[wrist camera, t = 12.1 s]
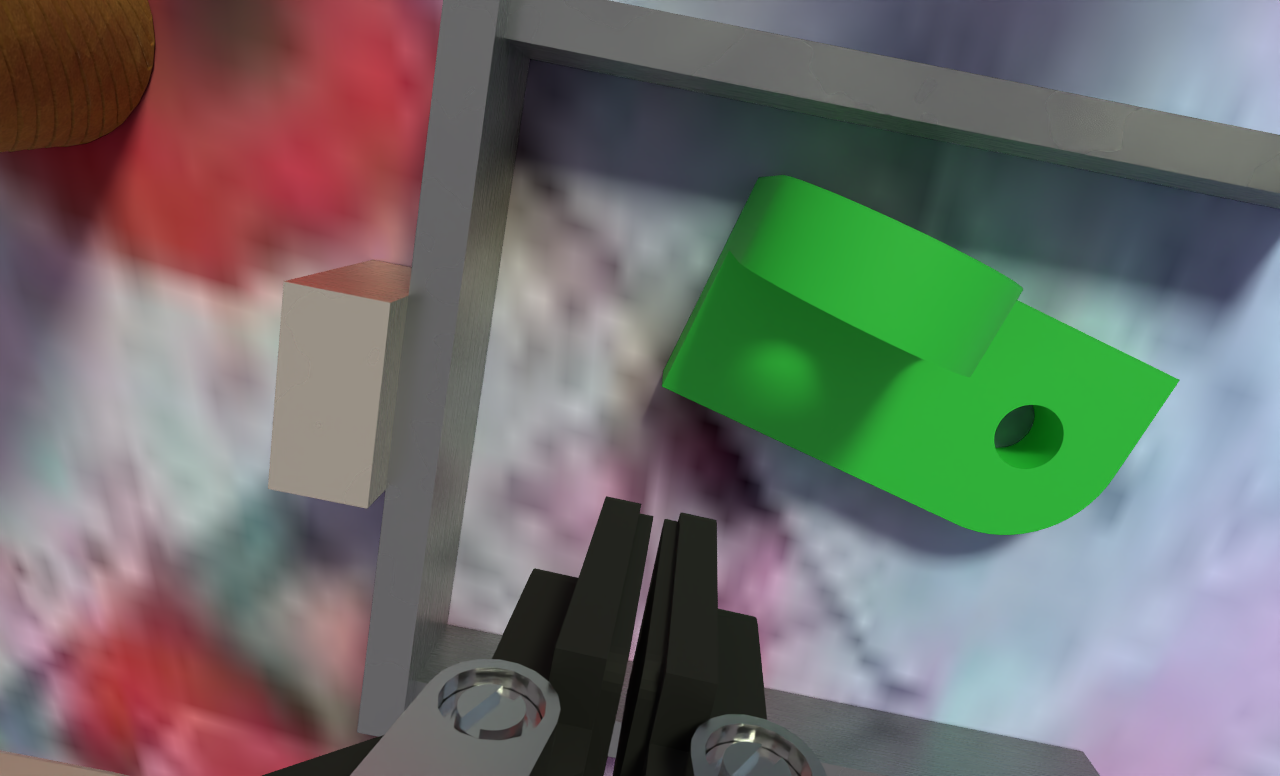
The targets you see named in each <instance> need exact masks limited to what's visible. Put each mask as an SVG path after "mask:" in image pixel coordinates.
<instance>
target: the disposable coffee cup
mask: <svg viewBox="0 0 1280 776" xmlns="http://www.w3.org/2000/svg"><path fill="white" fill-rule="evenodd" d="M154 45H155V39H154V29H153V19H152V14H151V10H150V7H149V3H148V0H0V152H6V151H9V152H13V151H19V150H25V149H27V150H31V149H38V148H44V147H45V148H50V147H58V146H73V145H79V144H84V143H89V142H91V141H93V140H95V139H97V138H99V137H102V136H104V135H106V134H108V133H110V132H111V131H113V130H114V129H115V128H117V127H118V126H119V125H121V124H122V123H123V122H124V121H125V120H126V119H127V117H128V116H129V115H130V113H131V112H132V111H133V110H134V108H135V107H136V106H137V105H138V103H139V101H140V99H141V97H142V95H143V93H144V91H145V89H146V86H147V84H148V82H149V78H150V74H151V71H152V67H153V58H154Z"/></svg>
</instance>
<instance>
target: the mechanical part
mask: <svg viewBox="0 0 1280 776" xmlns="http://www.w3.org/2000/svg"><path fill="white" fill-rule="evenodd" d="M1022 291H1023V288H1022V287H1021V286H1020V285H1018V284H1017V283H1016V282H1014V281H1013V280H1011V279H1009V278H1008V277H1006V276H1005V275H1003V274H1001V273H999V272H998V271H996V270H994V269H992V268H991V267H989V266H987V265H985V264H983V263H981V262H979V261H978V260H976V259H974V258H972V257H970V256H968V255H966V254H964V253H962V252H960V251H958V250H956V249H954V248H952V247H950V246H948V245H947V244H945V243H943V242H941V241H938V240H936V239H934V238H932V237H930V236H928V235H926V234H924V233H922V232H920V231H918V230H916V229H914V228H911V227H909V226H907V225H905V224H903V223H901V222H899V221H897V220H894V219H892V218H890V217H888V216H886V215H883V214H881V213H879V212H877V211H875V210H872V209H870V208H868V207H866V206H863V205H861V204H859V203H856V202H854V201H852V200H850V199H847V198H845V197H843V196H840V195H838V194H835V193H833V192H831V191H828V190H826V189H823V188H821V187H818V186H816V185H813V184H810V183H808V182H805V181H802V180H799V179H796V178H793V177H790V176H786V175H777V176H767V177H759V178H758V180H757V182H756V184H755V186H754V188H753V190H752V192H751V194H750V196H749V198H748V200H747V202H746V204H745V206H744V208H743V210H742V212H741V214H740V216H739V218H738V220H737V222H736V224H735V226H734V228H733V230H732V232H731V234H730V236H729V238H728V241H727V243H726V245H725V247H724V249H723V251H722V253H721V255H720V257H719V259H718V261H717V263H716V265H715V267H714V269H713V271H712V273H711V275H710V277H709V279H708V281H707V283H706V285H705V287H704V289H703V291H702V293H701V295H700V297H699V299H698V301H697V304H696V306H695V308H694V310H693V312H692V314H691V316H690V318H689V320H688V322H687V324H686V326H685V328H684V330H683V332H682V334H681V336H680V338H679V340H678V342H677V344H676V346H675V348H674V350H673V352H672V354H671V356H670V358H669V360H668V362H667V364H666V367H665V369H664V371H663V379H662V387H664V388H666V389H668V390H671V391H673V392H675V393H677V394H679V395H681V396H683V397H686V398H688V399H690V400H692V401H694V402H696V403H698V404H700V405H703V406H705V407H707V408H709V409H711V410H713V411H715V412H718V413H720V414H722V415H724V416H726V417H728V418H730V419H733V420H735V421H737V422H739V423H741V424H743V425H745V426H747V427H750V428H752V429H754V430H756V431H758V432H760V433H762V434H765V435H767V436H769V437H771V438H773V439H775V440H777V441H780V442H782V443H784V444H786V445H788V446H790V447H792V448H795V449H797V450H799V451H801V452H803V453H805V454H807V455H809V456H812V457H814V458H816V459H818V460H820V461H822V462H824V463H827V464H829V465H831V466H833V467H835V468H837V469H839V470H842V471H844V472H846V473H848V474H850V475H852V476H854V477H856V478H859V479H861V480H863V481H865V482H867V483H869V484H871V485H874V486H876V487H878V488H880V489H882V490H884V491H886V492H889V493H891V494H893V495H895V496H897V497H899V498H901V499H903V500H906V501H908V502H910V503H912V504H914V505H916V506H918V507H921V508H923V509H925V510H927V511H929V512H931V513H933V514H936V515H938V516H940V517H942V518H944V519H946V520H948V521H951V522H953V523H955V524H957V525H959V526H962V527H964V528H967V529H970V530H974V531H977V532H982V533H987V534H997V535H1015V534H1024V533H1029V532H1034V531H1038V530H1042V529H1045V528H1048V527H1051V526H1053V525H1056V524H1058V523H1060V522H1062V521H1064V520H1066V519H1068V518H1070V517H1072V516H1073V515H1075V514H1077V513H1078V512H1080V511H1081V510H1082V509H1084V508H1085V507H1086V506H1088V505H1089V504H1090V503H1091V502H1092V501H1093V500H1095V499H1096V498H1097V497H1098V496H1099V495H1100V494H1101V493H1102V491H1103V490H1104V489H1105V488H1106V487H1107V486H1108V484H1109V483H1110V482H1111V480H1112V479H1113V478H1114V476H1115V475H1116V473H1117V472H1118V470H1119V469H1120V467H1121V466H1122V464H1123V463H1124V462H1125V460H1126V459H1127V457H1128V456H1129V454H1130V453H1131V451H1132V450H1133V448H1134V447H1135V445H1136V444H1137V442H1138V441H1139V439H1140V438H1141V436H1142V435H1143V434H1144V432H1145V431H1146V429H1147V428H1148V426H1149V425H1150V423H1151V422H1152V420H1153V419H1154V417H1155V416H1156V414H1157V413H1158V411H1159V410H1160V408H1161V407H1162V406H1163V404H1164V403H1165V401H1166V400H1167V398H1168V397H1169V395H1170V394H1171V392H1172V391H1173V389H1174V388H1175V386H1176V385H1177V383H1178V382H1179V379H1176V378H1174V377H1172V376H1170V375H1168V374H1166V373H1164V372H1162V371H1160V370H1158V369H1156V368H1154V367H1152V366H1150V365H1148V364H1146V363H1144V362H1142V361H1140V360H1138V359H1136V358H1134V357H1132V356H1130V355H1128V354H1126V353H1124V352H1122V351H1119V350H1117V349H1115V348H1113V347H1111V346H1109V345H1107V344H1105V343H1103V342H1101V341H1099V340H1097V339H1095V338H1093V337H1091V336H1089V335H1087V334H1085V333H1083V332H1081V331H1079V330H1077V329H1075V328H1073V327H1071V326H1069V325H1067V324H1064V323H1062V322H1060V321H1058V320H1056V319H1054V318H1052V317H1050V316H1048V315H1046V314H1044V313H1042V312H1040V311H1038V310H1036V309H1034V308H1032V307H1030V306H1028V305H1026V304H1024V303H1022V302H1020V301H1018V300H1017V299H1018V297H1019V296H1020V294H1021V292H1022ZM1025 405H1033V408H1034V422H1033V425H1032V427H1031V429H1030V431H1029V432H1028V434H1027V435H1026V436H1025V437H1024V438H1023V439H1022V440H1021V441H1019V442H1018V443H1016V444H1014V445H1011V446H1008V447H1002V448H996V447H995V444H994V436H995V432H996V429H997V426H998V425H999V423H1000V421H1001V420H1002V419H1003V418H1004V417H1005V416H1006V415H1007V414H1008V413H1009V412H1011V411H1012V410H1014V409H1016V408H1018V407H1021V406H1025Z"/></svg>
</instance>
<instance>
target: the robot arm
mask: <svg viewBox="0 0 1280 776" xmlns="http://www.w3.org/2000/svg"><path fill="white" fill-rule="evenodd" d="M640 508H641V504H639V503H635V502H630V501H625V500H621V499H616V498H611V497H607V496H606V498H605V501H604V504H603V507H602V510H601V513H600V516H599V519H598V522H597V525H596V528H595V531H594V534H593V537H592V540H591V543H590V546H589V549H588V552H587V554H586V557H585V560H584V563H583V566H582V569H581V572H580V575H579V578H576V577H572V576H567V575H562V574H558V573H553V572H549V571H544V570H540V569H533V571H532V573H531V575H530V577H529V579H528V581H527V584H526V586H525V588H524V590H523V592H522V594H521V597H520V599H519V601H518V603H517V605H516V607H515V610H514V612H513V614H512V616H511V618H510V620H509V623H508V625H507V627H506V629H505V631H504V633H503V636H502V638H501V640H500V642H499V644H498V646H497V649H496V651H495V653H494V655H493V657H492V659H477V660H471V661H466V662H460V663H458V664H456V665H453V666H451V667H449V668H446V669H444V670H443V671H441V672H440V673H439V674H438V675H437V676H435V677H434V678H433V679H432V680H431V681H430V682H429V683H428V684H427V685H426V686H425V688H424V689H423V690H422V691H421V692H420V694H419V695H418V696H417V697H416V698H415V699H414V701H413V702H412V703H411V704H410V705H409V706H408V708H407V709H406V710H405V711H404V712H403V714H402V715H401V716H400V717H399V718H398V719H397V721H396V722H395V723H394V724H393V725H392V727H391V728H390V729H389V730H388V731H387V732H386V734H385V735H382V736H379V737H376V738H373V739H370V740H367V741H364V742H361V743H358V744H355V745H352V746H349V747H346V748H343V749H340V750H337V751H334V752H331V753H328V754H325V755H322V756H319V757H316V758H313V759H310V760H307V761H304V762H301V763H298V764H295V765H292V766H289V767H286V768H283V769H280V770H277V771H274V772H271V773H268V774H265V775H262V776H603V775H604V771H605V766H606V761H607V757H608V752H609V747H610V743H611V738H612V734H613V729H614V724H615V720H616V715H617V711H618V706H619V701H620V697H621V692H622V688H623V683H624V678H625V673H626V668H627V663H628V658H629V652H630V647H631V641H632V636H633V630H634V624H635V618H636V613H637V607H638V601H639V596H640V590H641V584H642V579H643V573H644V567H645V562H646V556H647V550H648V544H649V539H650V533H651V527H652V522H653V516H649V515H645V514H640ZM0 776H128V775H124V774H119V773H115V772H110V771H105V770H99V769H94V768H89V767H84V766H79V765H74V764H68V763H63V762H58V761H53V760H48V759H42V758H37V757H32V756H27V755H22V754H16V753H11V752H6V751H1V750H0ZM613 776H827V775H826V772H825V769H824V768H823V766H822V764H821V762H820V761H819V759H818V757H817V755H816V754H815V753H814V752H813V751H812V749H811V748H810V747H809V746H808V745H807V744H806V743H805V742H804V741H803V740H802V739H800V738H799V737H797V736H796V735H795V734H793V733H792V732H790V731H789V730H787V729H786V728H784V727H782V726H780V725H777V724H775V723H773V722H771V721H768V720H767V712H766V703H765V693H764V683H763V673H762V663H761V654H760V644H759V634H758V624H757V619H756V617H753V616H749V615H744V614H740V613H735V612H731V611H726V610H722V609H718V593H717V522H716V520H713V519H709V518H704V517H699V516H695V515H690V514H686V513H680V516H679V520H678V522H677V521H672V520H668V519H665V520H664V524H663V528H662V533H661V537H660V542H659V546H658V551H657V555H656V560H655V564H654V569H653V574H652V578H651V583H650V587H649V592H648V596H647V601H646V606H645V610H644V615H643V619H642V624H641V628H640V633H639V637H638V642H637V647H636V651H635V656H634V660H633V665H632V669H631V674H630V679H629V684H628V689H627V694H626V700H625V705H624V711H623V717H622V723H621V729H620V735H619V741H618V747H617V753H616V759H615V765H614V771H613Z"/></svg>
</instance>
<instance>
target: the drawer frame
mask: <svg viewBox="0 0 1280 776" xmlns="http://www.w3.org/2000/svg"><path fill="white" fill-rule="evenodd" d="M530 59H534V60H539V61H544V62H549V63H554V64H559V65H564V66H569V67H574V68H579V69H584V70H589V71H594V72H599V73H604V74H609V75H614V76H619V77H624V78H629V79H634V80H639V81H644V82H649V83H654V84H659V85H664V86H669V87H674V88H679V89H684V90H689V91H694V92H699V93H704V94H709V95H714V96H719V97H724V98H729V99H734V100H739V101H744V102H749V103H754V104H759V105H764V106H769V107H774V108H779V109H784V110H789V111H794V112H799V113H804V114H809V115H814V116H819V117H823V118H828V119H833V120H838V121H843V122H848V123H853V124H858V125H863V126H868V127H873V128H878V129H883V130H888V131H893V132H898V133H903V134H908V135H913V136H918V137H923V138H928V139H933V140H938V141H943V142H948V143H953V144H958V145H963V146H968V147H973V148H978V149H983V150H988V151H993V152H998V153H1003V154H1008V155H1013V156H1018V157H1023V158H1028V159H1033V160H1038V161H1043V162H1048V163H1053V164H1058V165H1063V166H1068V167H1073V168H1078V169H1083V170H1088V171H1093V172H1098V173H1103V174H1108V175H1113V176H1118V177H1123V178H1128V179H1133V180H1138V181H1143V182H1148V183H1153V184H1158V185H1163V186H1168V187H1173V188H1178V189H1183V190H1188V191H1193V192H1198V193H1203V194H1208V195H1213V196H1218V197H1223V198H1228V199H1233V200H1238V201H1243V202H1248V203H1253V204H1258V205H1263V206H1268V207H1273V208H1278V209H1280V135H1277V134H1272V133H1267V132H1262V131H1257V130H1252V129H1247V128H1242V127H1237V126H1232V125H1227V124H1222V123H1217V122H1212V121H1207V120H1202V119H1197V118H1192V117H1187V116H1182V115H1177V114H1172V113H1167V112H1162V111H1157V110H1152V109H1147V108H1142V107H1137V106H1132V105H1127V104H1122V103H1117V102H1112V101H1107V100H1102V99H1097V98H1092V97H1087V96H1082V95H1078V94H1073V93H1068V92H1063V91H1058V90H1053V89H1048V88H1043V87H1038V86H1033V85H1028V84H1023V83H1018V82H1013V81H1008V80H1003V79H998V78H993V77H988V76H983V75H978V74H973V73H968V72H963V71H958V70H953V69H948V68H943V67H938V66H933V65H928V64H923V63H918V62H913V61H908V60H903V59H898V58H893V57H888V56H883V55H878V54H873V53H868V52H863V51H858V50H853V49H848V48H843V47H838V46H833V45H828V44H823V43H818V42H813V41H808V40H803V39H798V38H793V37H788V36H783V35H778V34H773V33H768V32H763V31H758V30H753V29H748V28H743V27H738V26H733V25H728V24H723V23H718V22H713V21H708V20H703V19H698V18H693V17H688V16H683V15H678V14H673V13H668V12H663V11H659V10H654V9H649V8H644V7H639V6H634V5H629V4H624V3H619V2H614V1H609V0H443V7H442V15H441V24H440V32H439V41H438V49H437V58H436V66H435V75H434V83H433V92H432V100H431V109H430V117H429V126H428V134H427V143H426V151H425V160H424V168H423V177H422V185H421V194H420V202H419V211H418V219H417V228H416V236H415V245H414V253H413V262H412V268H411V267H406V266H401V265H396V264H391V263H386V262H381V261H376V260H370V261H366V262H362V263H358V264H353V265H349V266H345V267H341V268H337V269H333V270H329V271H325V272H321V273H317V274H312V275H308V276H304V277H300V278H296V279H292V280H288V281H284V285H283V298H282V311H281V325H280V338H279V351H278V364H277V377H276V390H275V404H274V417H273V430H272V443H271V456H270V469H269V483H268V489H271V490H276V491H281V492H286V493H291V494H296V495H301V496H306V497H311V498H316V499H321V500H326V501H331V502H336V503H341V504H346V505H351V506H356V507H361V508H366V509H368V508H369V506H370V505H371V504H372V503H373V502H374V501H375V500H376V499H377V498H378V497H379V496H380V495H381V494H382V493H383V492H384V491H385V490H386V491H385V500H384V508H383V517H382V525H381V534H380V542H379V551H378V559H377V568H376V576H375V585H374V593H373V602H372V610H371V619H370V627H369V636H368V644H367V653H366V661H365V670H364V678H363V687H362V695H361V704H360V712H359V721H358V729H357V732H358V733H363V734H368V735H373V736H378V737H379V736H382V735H385V734H386V732H387V731H388V730H389V729H390V728H391V727H392V725H393V724H394V723H395V722H396V721H397V719H398V718H399V717H400V716H401V715H402V714H403V712H404V711H405V710H406V709H407V708H408V706H409V705H410V704H411V703H412V702H413V701H414V699H415V698H416V697H417V696H418V695H419V694H420V692H421V691H422V690H423V689H424V688H425V686H426V685H427V684H428V683H429V682H430V681H431V680H432V679H433V678H434V677H435V676H437V675H438V674H439V673H440V672H441V671H443V670H444V669H446V668H449V667H451V666H453V665H456V664H458V663H460V662H466V661H471V660H477V659H492V657H493V655H494V653H495V651H496V649H497V646H498V644H499V642H500V640H501V638H502V636H503V635H498V634H493V633H488V632H483V631H478V630H473V629H468V628H463V627H458V626H453V625H448V624H447V622H448V615H449V608H450V601H451V594H452V588H453V581H454V574H455V567H456V560H457V553H458V547H459V540H460V533H461V526H462V519H463V512H464V506H465V499H466V492H467V485H468V478H469V471H470V465H471V458H472V451H473V444H474V437H475V430H476V424H477V417H478V410H479V403H480V396H481V389H482V383H483V376H484V369H485V362H486V355H487V348H488V342H489V335H490V328H491V321H492V314H493V307H494V301H495V294H496V287H497V280H498V273H499V266H500V260H501V253H502V246H503V239H504V232H505V225H506V219H507V212H508V205H509V198H510V191H511V184H512V178H513V171H514V164H515V157H516V150H517V143H518V137H519V130H520V123H521V116H522V109H523V102H524V96H525V89H526V82H527V75H528V68H529V61H530ZM632 665H633V662H632V661H628V663H627V668H626V673H625V678H624V683H623V688H622V692H621V697H620V701H619V706H618V711H617V715H616V720H615V724H614V729H613V734H612V738H611V743H610V747H609V752H608V756H609V757H614V758H616V753H617V747H618V741H619V735H620V729H621V723H622V717H623V711H624V705H625V700H626V694H627V689H628V684H629V679H630V674H631V669H632ZM764 693H765V703H766V712H767V720H768V721H771V722H773V723H775V724H777V725H780V726H782V727H784V728H786V729H787V730H789V731H790V732H792V733H793V734H795V735H796V736H797V737H799V738H800V739H802V740H803V741H804V742H805V743H806V744H807V745H808V746H809V747H810V748H811V749H812V751H813V752H814V753H815V754H816V755H817V757H818V759H819V761H820V762H821V764H822V766H823V768H824V769H825V772H826V775H827V776H1100V775H1099V774H1098V772H1097V771H1096V769H1095V768H1094V767H1093V765H1092V764H1091V762H1090V761H1089V759H1088V758H1087V757H1086V755H1085V754H1084V752H1082V751H1077V750H1072V749H1067V748H1062V747H1057V746H1052V745H1047V744H1042V743H1037V742H1032V741H1027V740H1022V739H1017V738H1012V737H1007V736H1002V735H997V734H992V733H987V732H982V731H977V730H972V729H967V728H962V727H957V726H952V725H947V724H942V723H937V722H932V721H927V720H922V719H917V718H912V717H907V716H902V715H897V714H892V713H887V712H882V711H877V710H872V709H867V708H862V707H857V706H852V705H847V704H842V703H837V702H832V701H827V700H822V699H817V698H812V697H807V696H802V695H797V694H792V693H787V692H782V691H777V690H772V689H767V688H764Z"/></svg>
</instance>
